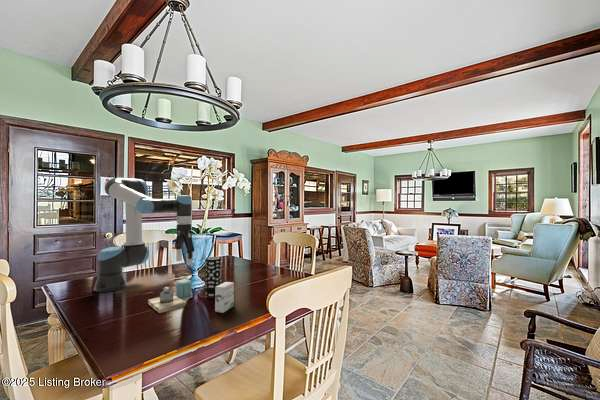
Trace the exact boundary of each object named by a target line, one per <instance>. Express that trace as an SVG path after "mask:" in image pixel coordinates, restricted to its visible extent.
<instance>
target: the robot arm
mask: <svg viewBox="0 0 600 400" xmlns="http://www.w3.org/2000/svg"><path fill="white" fill-rule="evenodd" d="M104 191H105V192H104V193H106V194H107V196H110V197H111V198H113V199H119V200H121V201H122V202H124V203H125V208H124V209H125V243H123V245H122V246H118V245H117V246H110V247H106V248H105V247H104V249H101V250H99V252H98V255H97V262H98V265H97V267H98V268H97V273H98V275H97V279H96V281H95V284H94V287H93V291H94V292H95V291H96V292H95V293H110V292H109V291H111V292H115V291H116V292H117V291H120V290H122V289H125V288H126V287H127V283H126V278H125V277H124V273H123V269H124V268H128V267H134V266H139V265H143V264H145V263H146V262H147V261H148V260H149V257H150V249H149V246H148V245H146V242H145V241H143V225H142V223H143V220H142V218H143V217H142V215H143V214H146V215H148V214H166V213H167V214H168V213H176V218H175V220H176V231H177V232H176V239H175V242H174V248H175V249H176V252H175V253H176V254H175V255H176V260H175V261H176V262H182V260H183V256H182V255H183V245H184V244H185V248H186V249H185V250H186V252H185V253H186V266H191V265H193V253H194V252H195V247H194V246H195V245H194V241H193V234H192V233H190V232H191V231H192V227H193V226H192V222H193V221H192V220H193V218H192V217H193V216H192V213H193V212H192V211H193V209H192V208H193V205H192V204H193V202H192V196H191V195H187V194H186V195H184V194H183V195H181V194H179V195H176V198H152V197H149V196H148V194H149V186H148V184H147V182H146V181H144V180H143V179H140V178H132V177H131V178H128V177H127V178H126V177H114V178H111V179H109V180H107V181H106V182H105V184H104Z"/></svg>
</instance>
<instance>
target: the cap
mask: <svg viewBox="0 0 600 400" xmlns="http://www.w3.org/2000/svg"><path fill="white" fill-rule="evenodd" d="M192 289H193V287H192V280H191V279H182V280H176V282H175V296H177V297H178V298H185V297H189V296H191V295H192V291H193V290H192Z"/></svg>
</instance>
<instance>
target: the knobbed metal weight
mask: <svg viewBox="0 0 600 400" xmlns="http://www.w3.org/2000/svg"><path fill="white" fill-rule="evenodd" d="M170 288H171V287H170V286H165V287H163V291H162V292H160V293H159V297H160V303H169V302H172V301H173V294H174V291H173V290H171V289H170Z"/></svg>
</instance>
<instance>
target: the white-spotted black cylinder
mask: <svg viewBox="0 0 600 400" xmlns="http://www.w3.org/2000/svg"><path fill="white" fill-rule="evenodd" d="M204 261H205V262H204V263H205V264H204V267H205V271H204V277H205V278H204V280H205V281H204V297H205V298H207V299H215V287H216V286H218V285H220V284H222V257H220V256H209V257H206V258H205V260H204Z"/></svg>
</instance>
